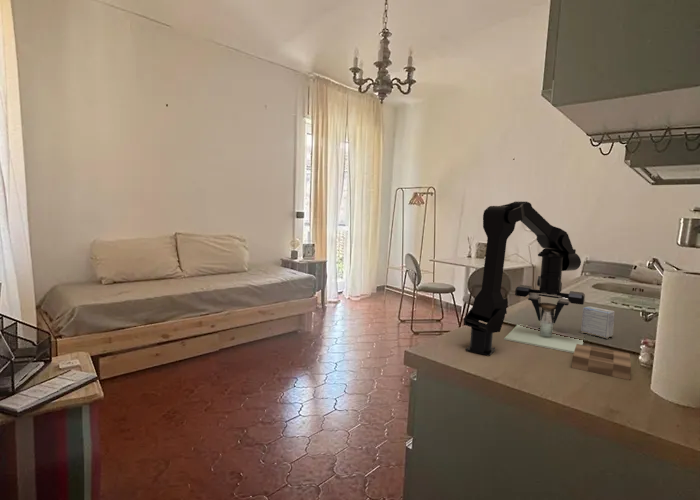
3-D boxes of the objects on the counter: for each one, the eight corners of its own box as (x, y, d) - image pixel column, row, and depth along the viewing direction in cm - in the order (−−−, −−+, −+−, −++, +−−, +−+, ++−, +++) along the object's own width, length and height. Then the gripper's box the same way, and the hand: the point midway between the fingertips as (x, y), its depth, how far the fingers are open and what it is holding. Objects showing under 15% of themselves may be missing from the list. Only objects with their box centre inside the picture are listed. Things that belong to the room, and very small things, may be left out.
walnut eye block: (629, 379, 95) (631, 367, 95) (571, 367, 102) (572, 356, 101) (628, 364, 105) (629, 353, 105) (575, 354, 112) (576, 343, 112)
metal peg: (555, 334, 126) (557, 304, 126) (553, 337, 123) (555, 306, 122) (538, 331, 129) (541, 301, 128) (536, 334, 125) (539, 304, 124)
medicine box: (612, 337, 129) (615, 311, 129) (606, 340, 127) (609, 312, 126) (586, 331, 136) (589, 305, 135) (580, 333, 133) (582, 307, 132)
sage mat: (580, 354, 112) (580, 352, 112) (504, 339, 123) (504, 338, 123) (584, 337, 129) (584, 335, 129) (517, 325, 140) (517, 324, 140)
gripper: (588, 272, 126) (583, 321, 127) (523, 266, 136) (519, 312, 137) (585, 276, 116) (580, 329, 118) (516, 269, 126) (512, 318, 128)
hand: (546, 321), depth 125 cm, fingers closed on metal peg, 4 cm apart
